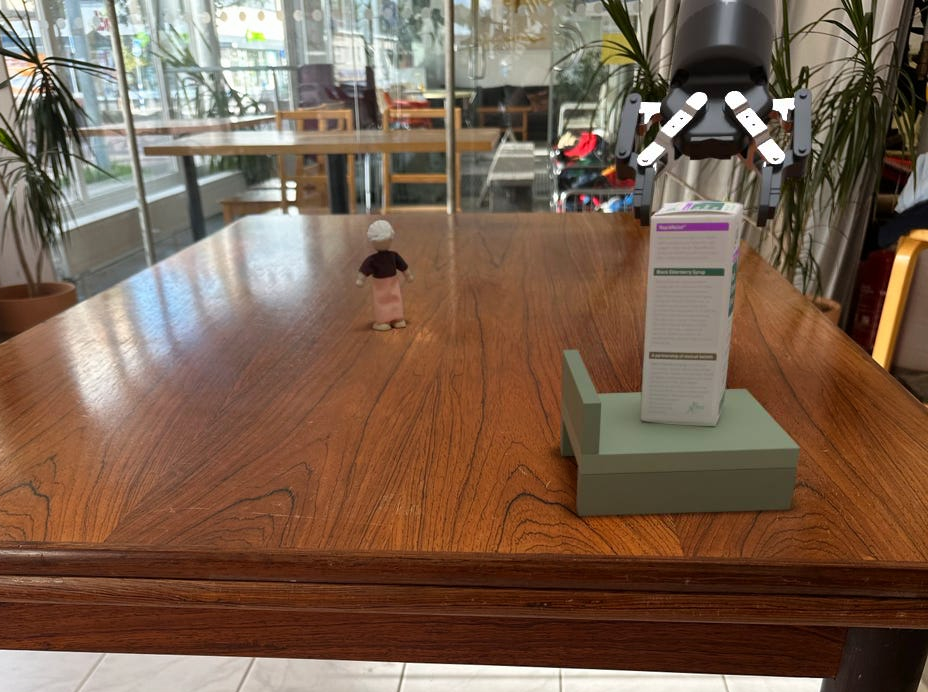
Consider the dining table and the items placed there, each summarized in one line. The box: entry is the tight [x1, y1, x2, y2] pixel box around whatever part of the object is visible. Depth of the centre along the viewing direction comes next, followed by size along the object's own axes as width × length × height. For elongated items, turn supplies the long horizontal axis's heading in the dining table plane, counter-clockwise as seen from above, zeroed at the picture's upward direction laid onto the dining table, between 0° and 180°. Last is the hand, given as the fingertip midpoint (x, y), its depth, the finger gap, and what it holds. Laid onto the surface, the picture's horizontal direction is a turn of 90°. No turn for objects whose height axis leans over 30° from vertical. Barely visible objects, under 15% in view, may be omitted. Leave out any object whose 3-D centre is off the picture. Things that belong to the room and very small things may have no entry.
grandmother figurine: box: [355, 219, 415, 331], centre depth 117 cm, size 8×4×13 cm, turn 130°
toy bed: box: [559, 349, 801, 517], centre depth 71 cm, size 15×14×9 cm
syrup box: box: [640, 199, 744, 426], centre depth 68 cm, size 6×6×14 cm
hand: (702, 219), depth 70 cm, fingers open, 8 cm apart
